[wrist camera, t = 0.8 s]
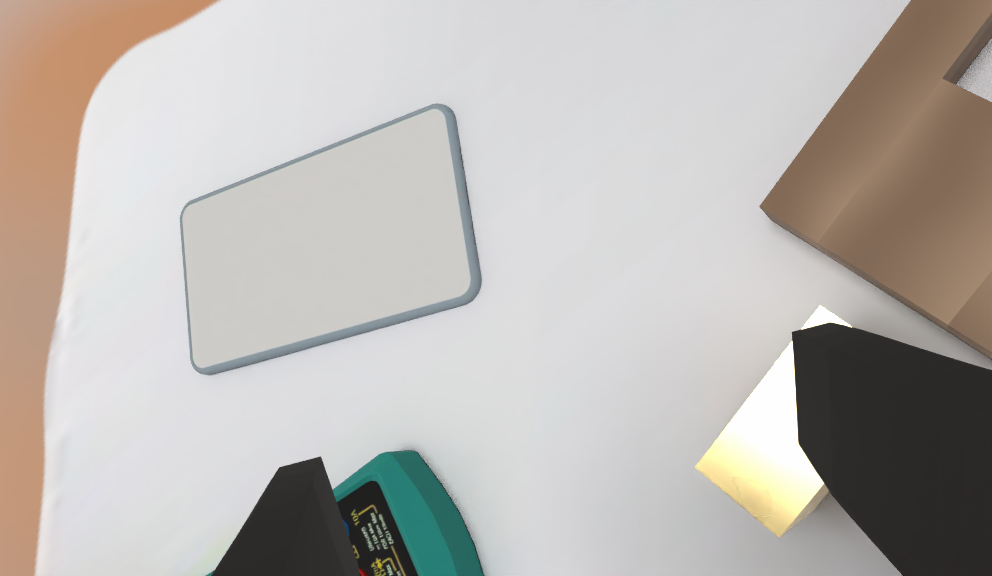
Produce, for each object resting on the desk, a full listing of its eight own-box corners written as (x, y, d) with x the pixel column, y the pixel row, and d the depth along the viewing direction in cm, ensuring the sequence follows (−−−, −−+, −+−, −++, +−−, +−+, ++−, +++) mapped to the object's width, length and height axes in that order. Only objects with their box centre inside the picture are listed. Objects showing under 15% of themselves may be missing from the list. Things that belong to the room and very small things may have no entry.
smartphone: (480, 298, 31) (189, 378, 37) (492, 301, 31) (205, 379, 38) (447, 94, 32) (176, 203, 39) (459, 103, 33) (192, 208, 40)
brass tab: (921, 378, 24) (916, 369, 19) (813, 510, 25) (779, 538, 19) (845, 327, 25) (819, 305, 20) (744, 455, 26) (694, 467, 21)
